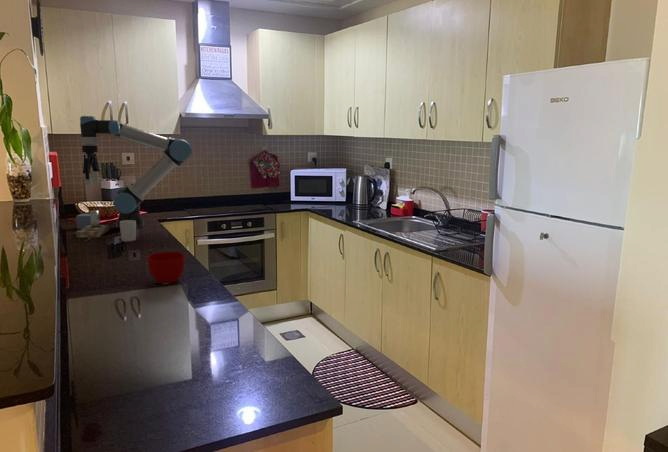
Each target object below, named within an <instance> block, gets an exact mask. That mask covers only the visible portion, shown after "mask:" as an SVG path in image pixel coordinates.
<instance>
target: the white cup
mask: <svg viewBox="0 0 668 452" xmlns="http://www.w3.org/2000/svg"><path fill="white" fill-rule="evenodd" d="M119 223H120V228H119V229H120V236H121V242H125V243H126V242H135V241H136V240H137V228H136V221H135V220H124V221H120V222H119Z"/></svg>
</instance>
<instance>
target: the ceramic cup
mask: <svg viewBox="0 0 668 452" xmlns="http://www.w3.org/2000/svg"><path fill="white" fill-rule="evenodd" d="M147 263H148V270H149V273H150V275H151V277H152V278H153V279H154V280H155V281H156V282H157V284H159V283H173V282H176V281H178V280H179V279H180V278H181V276H182V275H183V272H184V267H185V253H183V252H177V251H164V252H162V251H161V252H156V253H153V254H150V255H147ZM176 283H177V282H176ZM173 284H174V283H173Z"/></svg>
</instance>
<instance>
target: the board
mask: <svg viewBox="0 0 668 452" xmlns="http://www.w3.org/2000/svg"><path fill="white" fill-rule="evenodd" d="M108 231H110V227H109V224H100V228H91V225H88V226H86V227H84V228H82V229H81V230H77V231H76V232H75V235H76V236H75V238H78V239H79V238H99V237H101V236H102V235H104V234H105V233H107V232H108Z"/></svg>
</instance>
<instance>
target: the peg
mask: <svg viewBox="0 0 668 452" xmlns="http://www.w3.org/2000/svg"><path fill="white" fill-rule="evenodd" d="M89 214H90V217H91V228H100V225H101V224H100V222H101V221H100V211H99V210H98V209H97V210H96V209H95V210H93V209H92V210H90V211H89Z"/></svg>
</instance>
